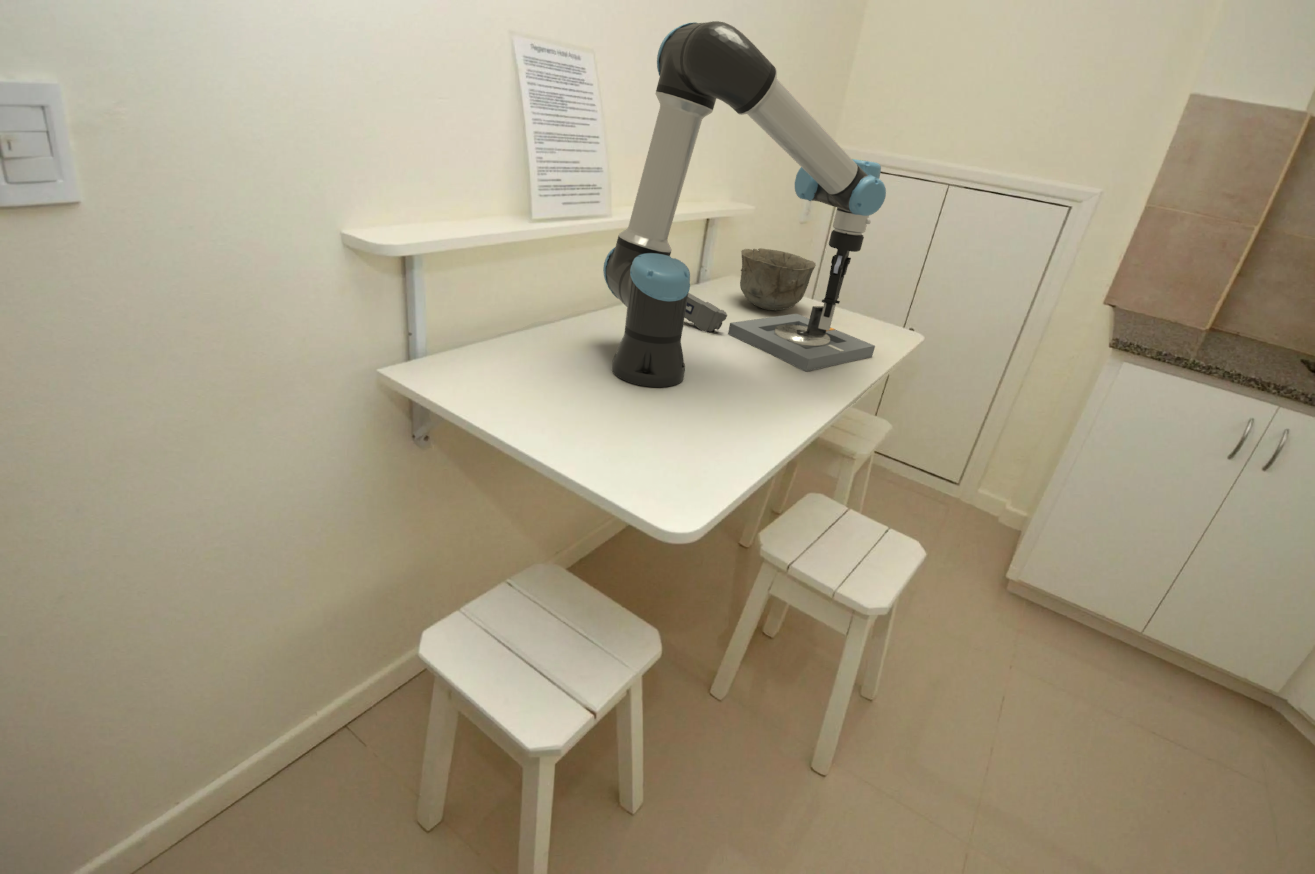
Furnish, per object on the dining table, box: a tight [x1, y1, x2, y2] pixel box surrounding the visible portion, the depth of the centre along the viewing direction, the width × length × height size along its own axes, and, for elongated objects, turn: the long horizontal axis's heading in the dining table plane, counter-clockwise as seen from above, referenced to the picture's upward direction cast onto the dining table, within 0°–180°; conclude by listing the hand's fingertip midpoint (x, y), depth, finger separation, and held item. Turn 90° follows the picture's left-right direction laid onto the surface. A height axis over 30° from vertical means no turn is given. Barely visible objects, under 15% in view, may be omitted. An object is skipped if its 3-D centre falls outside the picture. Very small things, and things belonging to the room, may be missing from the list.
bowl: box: [739, 247, 817, 311], centre depth 191 cm, size 22×22×15 cm
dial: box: [774, 305, 830, 349], centre depth 164 cm, size 14×14×8 cm
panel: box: [727, 313, 876, 372], centre depth 166 cm, size 26×26×3 cm
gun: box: [684, 292, 728, 333], centre depth 171 cm, size 3×25×15 cm, turn 61°
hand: (823, 328), depth 163 cm, fingers closed
